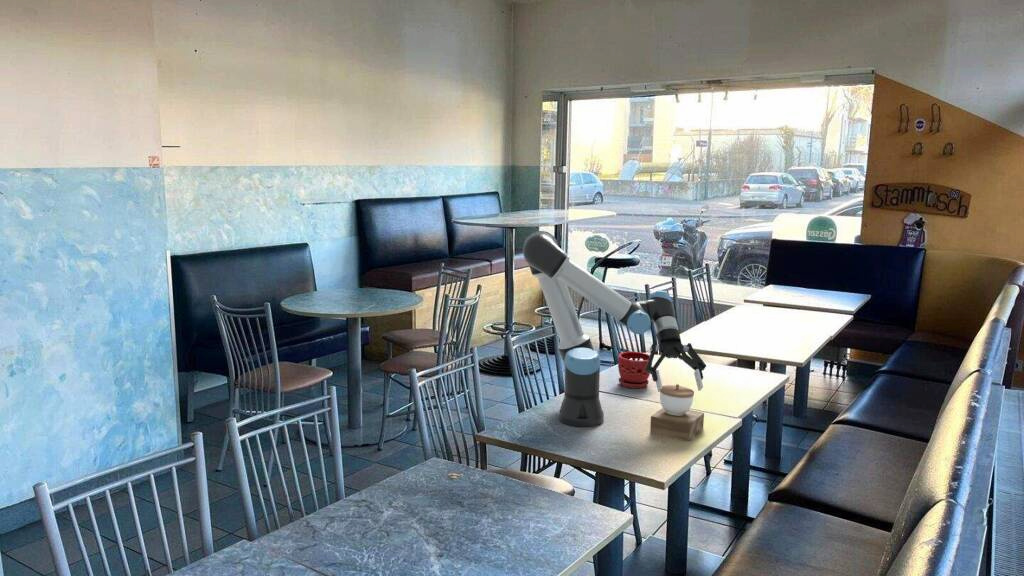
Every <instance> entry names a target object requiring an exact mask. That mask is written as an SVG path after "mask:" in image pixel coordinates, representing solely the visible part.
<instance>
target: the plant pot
mask: <svg viewBox="0 0 1024 576" xmlns="http://www.w3.org/2000/svg"><path fill="white" fill-rule="evenodd" d="M649 356H650V354H648V353H644V352H641V351H640V352H639V351H623V352H621V353H619V354H618V359H617V361H618V362H617V366H618V367H617V368H618V373H619V378H618V382H619V384H620V385H621V386H624V387H627V388H631V389H641V388H644V387H646V386H647V385H648V384H649V380H648V379H649V377H650V376H651V374H650V372H646V371H645V368H646V365H647V362H648V359H649ZM651 367H653V363H652V364H651Z"/></svg>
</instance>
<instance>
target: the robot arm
mask: <svg viewBox="0 0 1024 576" xmlns="http://www.w3.org/2000/svg"><path fill="white" fill-rule="evenodd" d="M522 255H523V258H524V260H525V262H526V264H528V266H529V270H530V272H531V275H532V276H533V277H535V278H537V279H538V282H539V284H540V287H541V290H542V293H543V296H544V298H545V302H546V305H547V307H548V311H549V313H550V316H551V318H552V321H553V323H554V327H555V330H556V333H557V335H558V338H559V344H558V345H557V348H558V351H559V353H560V357H561V360H562V361H563V362H562V363H563V365H564V397H563V400H562V403H561V406H560V409H559V411H558V420H559V422H561V423H563V424H565V425H568V426H572V427H578V428H579V427H580V428H581V427H582V428H583V427H585V428H586V427H594V426H598V425H601V424H602V423H603V422H604V421H605V418H604V417H605V416H604V415H605V414H604V411H603V407H602V405H601V404H602V403H601V400H600V377H601V376H600V375H601V372H600V371H601V357H600V354H599V352H598V351H596V350H595V349H594V347H593V346H594V345H593V343H592V341H591V338H590V336H589V335H588V334H586V333H585V332H584V331H583V328H582V325H581V323H580V319H579V317H578V314H577V311H576V308H575V304H574V301H573V299H572V296H571V294H570V291H569V288H570V289H572V290H573V291H575V292H576V293H577V294H579V295H580V296H582V297H583V298H584V299H586V300H588V301H589V302H591V303H592V304H594V306H596V307H598V308H600V309H601V310H602V311H604V312H605V313H607V314H608V315H610V316H611V317H612V318H613V319H616V320H617V323H618V324H619V326H625V327H626V328H627V329H628V330H629V331H630V332H632V333H633V334H635V335H643V334H645V333H647V332H648V331H649V329H650V327H651V322H653V325H654V329H655V334H656V339H657V342H658V343H657V344H658V345H656V344H655V343H652V344H651V346H650V348H649V351H650V352H649V353H650V354H649V355H650V356H649V359H648V362H647V365H646V368H645V371H646V372H650V375H651V378H652V381H653V382H655V384H656V388H657V392H658V393H660V391H661V390H662V386H663V385H662V384H663V383H662V380H661V375H660V370H659V369H658V368H659V366H660V365H661V363H662V362H663V361H664V359H665V358H667V359H679V360H681V361H683V362H684V363H685V364H686V365H688V366H689V367H690V368H691V369H693V370H694V372H693V374H694V378H695V382H696V386H697V391H698V392H700V391H702V389H703V388H704V386H703V379H704V376H703V375H704V374H703V371H704V370H705V369H706V368H707V365H706V363H705V361H704V360H703V359H702V358H701V357H700V355H699V354H698V353H697V352H696V351H695V349H694V348H693V345H692V343H691V342H688V343H687V344H683V343H682V339H681V335H680V331H679V326H678V323H677V319H676V313H675V310H674V306H673V301H672V299H671V296H670V295H671V294H669V293H668V291H664V290H656V291H655V292H652V293H650V295H649V296H648V299H645V300H637V301H630V300H629V299H628V298H627V297H624V296H623V295H622V294H620V293H619V292H617V291H616V290H614V289H613V288H612V287H611V286H609V285H607V284H606V283H604V281H602V280H600V279H599V278H597V277H596V276H594V275H593V274H592V273H590V272H588V271H587V270H586V269H585V268H583V267H581V266H580V265H579V264H577V263H576V262H574V261H573V260H571V259H570V255H569V254H568V253H566V252H565V251H564V250H563V249H562V248H561V247H559V243H558V240H557V239H556V237H555V236H554V235H553V234H551V232H548V231H546V230H545V231H544V230H538V231H534V232H532V233H530V234H529V235H528V236H527V237H526V239H525V241H524V243H523V249H522ZM658 351H659V352H660V353H661V355H660V356H659V357H658V359H657V361H656V362H655V363H654V365H653V360H654V357H655V355H656V352H658ZM686 352H687V353H686ZM651 364H652V367H651Z"/></svg>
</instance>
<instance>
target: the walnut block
mask: <svg viewBox="0 0 1024 576" xmlns="http://www.w3.org/2000/svg"><path fill="white" fill-rule="evenodd" d="M704 418H705V412H702V411H696V410H692V409H689V410H688V411H687V412H686V413H685V414H684V415H682V416H675V415H670V414H667V413H666V412H665V410H664V409H663V407H661V408H660V409H659V410H658V411H656V412H655V413H653V414H652V415H651V416H650V431H649V432H650V434H653V435H657V434H658V436H661V437H662V436H663V437H666V436H668V438H671V437H672V439H676V438H677V439H676V440H680V439H682V440H681V441H685V440H686V442H690V441H692V440H693V439H694V438H695V437H696V436H697V435H699V434H700V433H701V432H702V431H704V423H705V422H704V421H705V419H704ZM701 430H702V431H701ZM700 431H701V432H700ZM694 436H695V437H694ZM693 437H694V438H693ZM692 438H693V439H692Z"/></svg>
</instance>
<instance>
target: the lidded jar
mask: <svg viewBox="0 0 1024 576" xmlns="http://www.w3.org/2000/svg"><path fill="white" fill-rule="evenodd" d="M694 396H695V391H694V390H693V389H691V388H689V387H686V386H682V385H680V384H677V383H676V384H675V385H674V384H667V385H662V390H661V391H660V392H659V401H660V405H661V408H663V409H664V410H665V412H666V413H667V414H670V415H675V416H682V415H684V414H685V413H686V412H687V411H688V410H691V407H692V405H693V401H694Z"/></svg>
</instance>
